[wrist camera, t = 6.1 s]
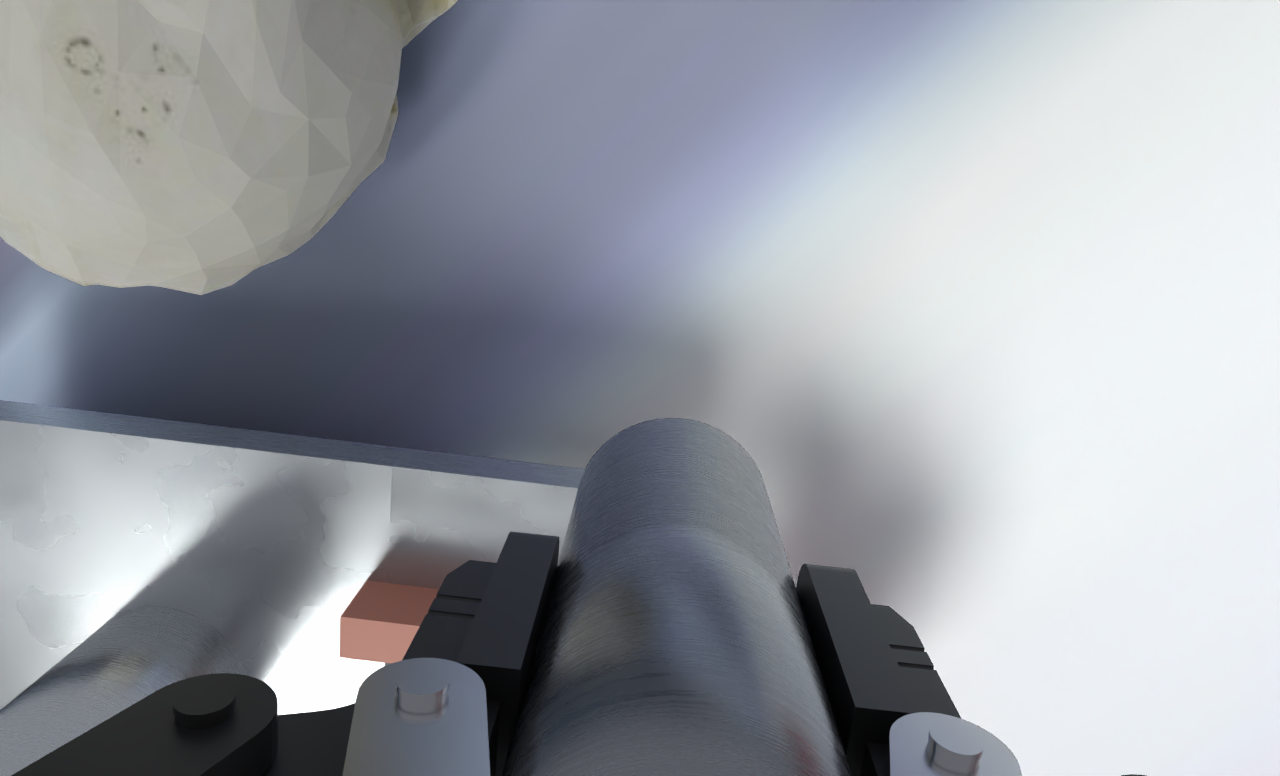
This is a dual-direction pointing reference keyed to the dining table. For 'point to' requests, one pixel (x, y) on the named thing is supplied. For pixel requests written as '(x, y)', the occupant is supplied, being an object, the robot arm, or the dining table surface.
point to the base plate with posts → (219, 556)
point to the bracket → (383, 621)
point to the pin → (674, 625)
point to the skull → (190, 129)
